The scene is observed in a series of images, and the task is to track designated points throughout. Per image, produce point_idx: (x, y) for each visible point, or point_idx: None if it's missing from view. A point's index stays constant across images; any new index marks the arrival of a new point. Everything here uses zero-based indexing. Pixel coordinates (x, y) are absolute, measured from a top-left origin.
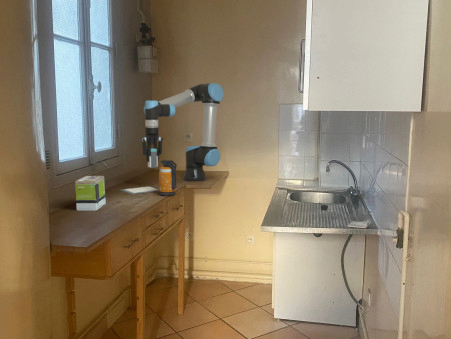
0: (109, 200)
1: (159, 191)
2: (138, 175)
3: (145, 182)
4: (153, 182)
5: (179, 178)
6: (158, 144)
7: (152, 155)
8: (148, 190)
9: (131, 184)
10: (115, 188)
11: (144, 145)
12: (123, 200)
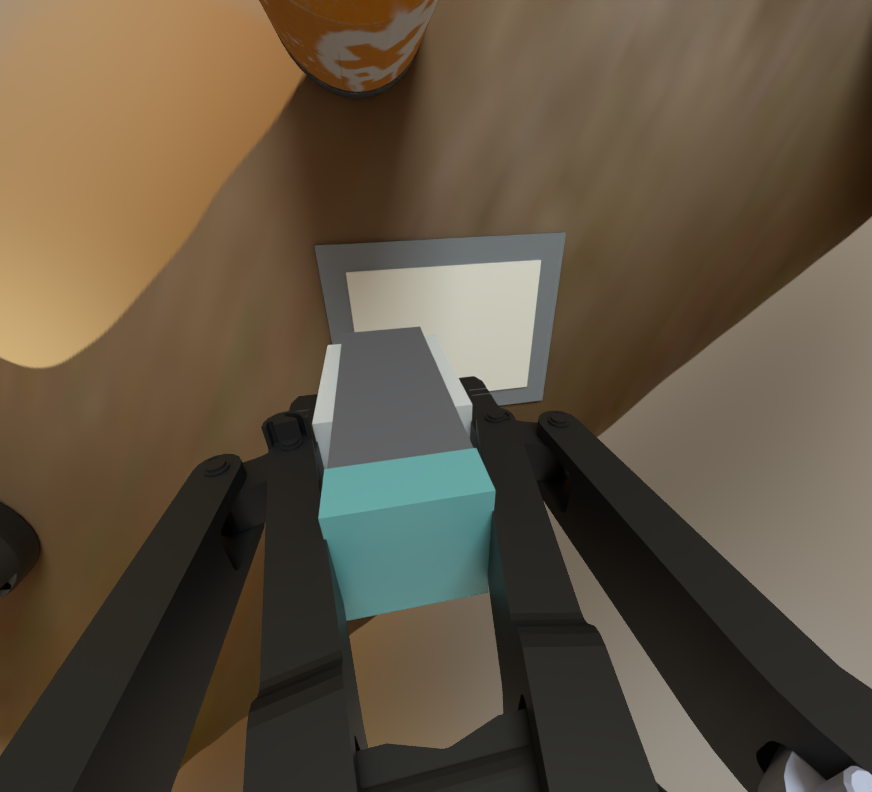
0: (775, 110)
1: (408, 66)
2: None
3: None
4: None
5: (68, 586)
6: (172, 754)
7: (427, 407)
8: (423, 272)
9: None
10: None
11: (738, 572)
12: (732, 30)
